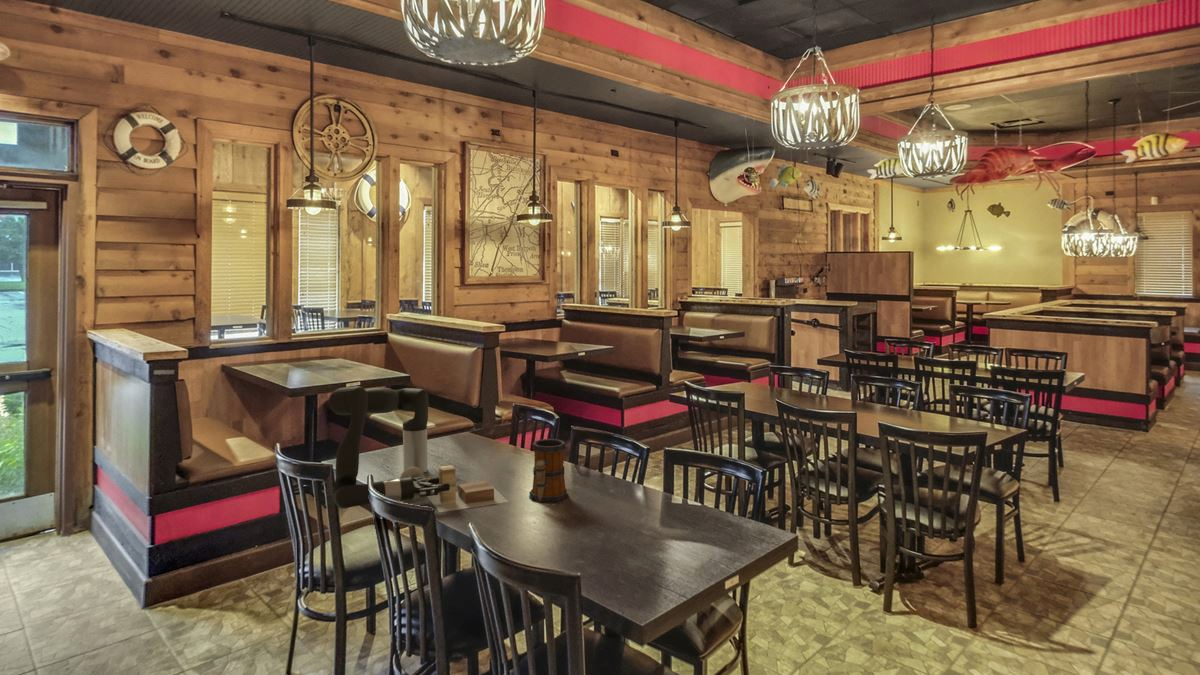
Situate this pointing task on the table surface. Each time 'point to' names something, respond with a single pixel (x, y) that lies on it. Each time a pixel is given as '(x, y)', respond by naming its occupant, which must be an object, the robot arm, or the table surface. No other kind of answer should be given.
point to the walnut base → (475, 492)
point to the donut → (412, 472)
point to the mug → (548, 472)
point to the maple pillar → (447, 477)
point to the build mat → (461, 504)
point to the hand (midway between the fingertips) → (446, 483)
